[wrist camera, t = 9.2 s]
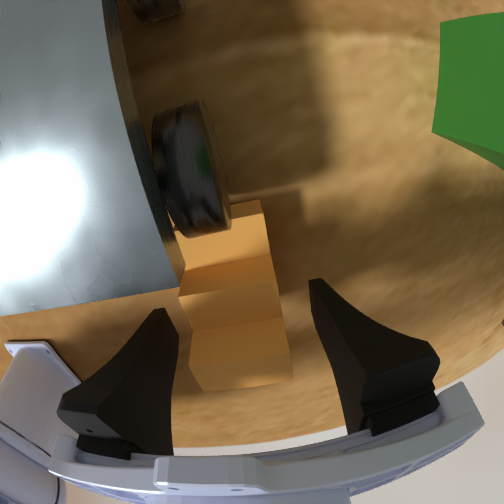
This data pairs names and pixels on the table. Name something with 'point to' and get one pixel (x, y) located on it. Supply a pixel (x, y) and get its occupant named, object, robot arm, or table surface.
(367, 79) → the table surface
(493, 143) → the hardback book
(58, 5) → the trolley
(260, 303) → the orange stepped block
